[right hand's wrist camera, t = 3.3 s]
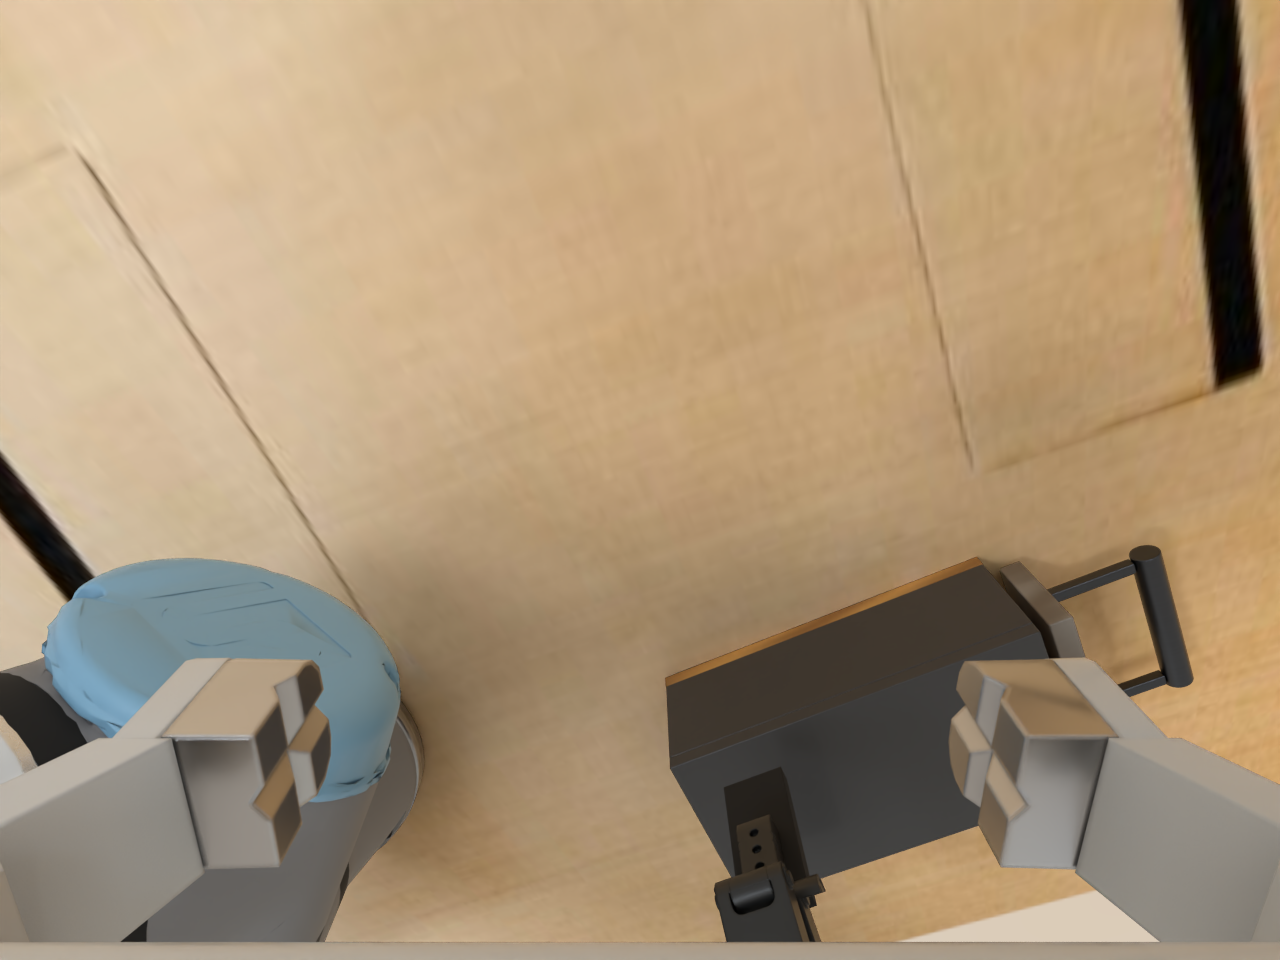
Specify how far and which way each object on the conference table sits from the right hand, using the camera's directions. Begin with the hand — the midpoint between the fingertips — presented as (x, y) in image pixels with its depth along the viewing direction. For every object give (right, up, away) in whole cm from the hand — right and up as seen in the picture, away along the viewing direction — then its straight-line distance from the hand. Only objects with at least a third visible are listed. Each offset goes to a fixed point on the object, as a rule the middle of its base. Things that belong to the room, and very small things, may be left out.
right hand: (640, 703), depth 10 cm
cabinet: (+12, -10, +39) cm, 42 cm away
